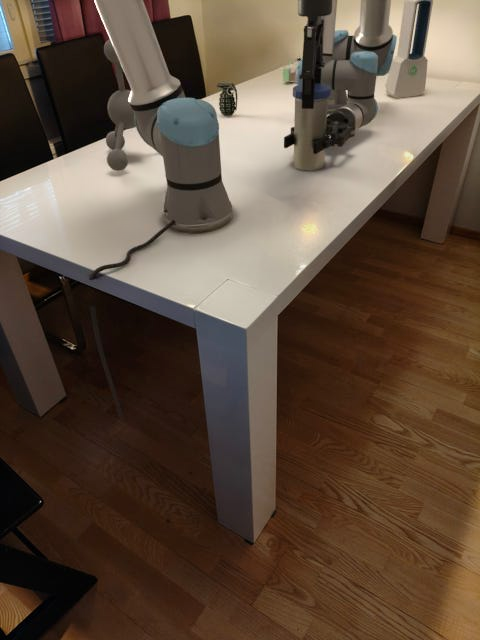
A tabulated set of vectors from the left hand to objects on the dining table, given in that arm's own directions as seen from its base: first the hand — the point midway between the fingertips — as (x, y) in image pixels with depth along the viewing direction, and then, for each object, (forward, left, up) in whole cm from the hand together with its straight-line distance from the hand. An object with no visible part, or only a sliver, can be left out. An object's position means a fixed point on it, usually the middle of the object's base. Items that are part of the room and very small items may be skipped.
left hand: (311, 102), depth 120 cm
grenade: (+34, +43, -16) cm, 57 cm away
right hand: (-5, +1, -9) cm, 10 cm away
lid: (0, 0, +3) cm, 3 cm away
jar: (0, 0, -16) cm, 16 cm away
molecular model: (-11, +47, -16) cm, 51 cm away
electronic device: (+78, -6, -16) cm, 80 cm away
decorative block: (+93, +37, -16) cm, 101 cm away
